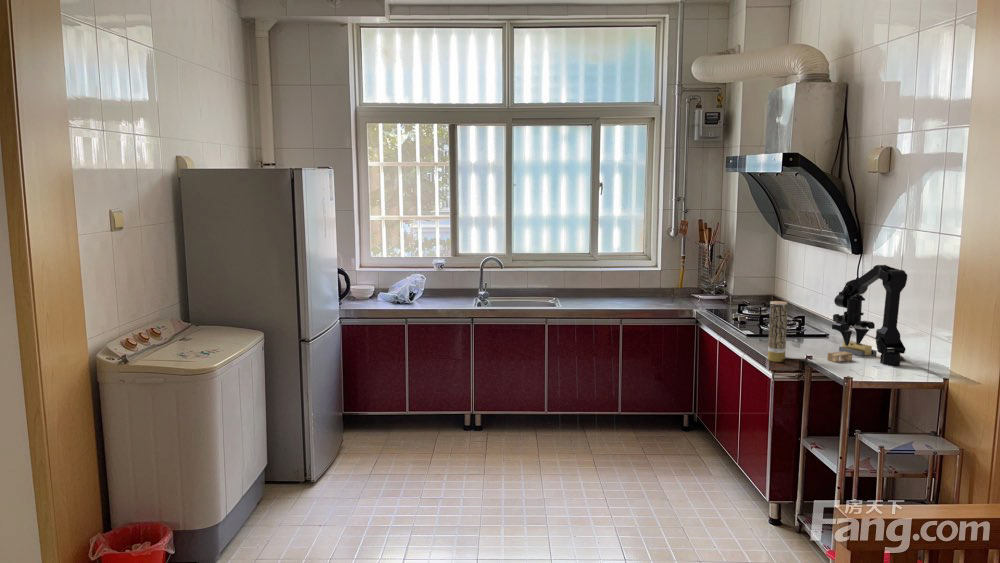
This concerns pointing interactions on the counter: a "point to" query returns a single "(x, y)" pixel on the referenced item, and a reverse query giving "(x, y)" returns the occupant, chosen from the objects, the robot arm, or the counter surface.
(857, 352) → the grey u channel block
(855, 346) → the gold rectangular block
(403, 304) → the counter surface
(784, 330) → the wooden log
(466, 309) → the counter surface
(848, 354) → the light wood notched block
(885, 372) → the counter surface
